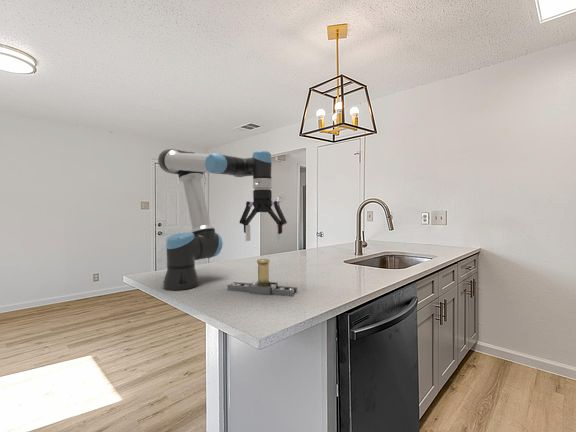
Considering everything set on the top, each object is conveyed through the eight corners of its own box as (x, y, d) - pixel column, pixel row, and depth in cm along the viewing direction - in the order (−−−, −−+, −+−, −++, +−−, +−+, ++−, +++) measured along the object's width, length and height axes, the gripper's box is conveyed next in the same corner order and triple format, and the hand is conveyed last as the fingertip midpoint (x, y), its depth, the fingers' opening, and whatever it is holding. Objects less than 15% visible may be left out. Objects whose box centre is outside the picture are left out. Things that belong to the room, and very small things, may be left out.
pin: (255, 292, 125) (255, 260, 124) (260, 289, 129) (260, 258, 129) (266, 293, 123) (266, 261, 122) (271, 290, 128) (271, 259, 127)
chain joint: (225, 290, 127) (225, 283, 127) (235, 285, 135) (235, 279, 135) (291, 297, 118) (291, 289, 117) (298, 291, 125) (298, 284, 125)
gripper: (230, 189, 126) (231, 241, 126) (287, 188, 117) (288, 243, 118) (239, 190, 133) (240, 239, 133) (294, 189, 124) (294, 241, 125)
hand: (262, 241), depth 126 cm, fingers open, 13 cm apart
